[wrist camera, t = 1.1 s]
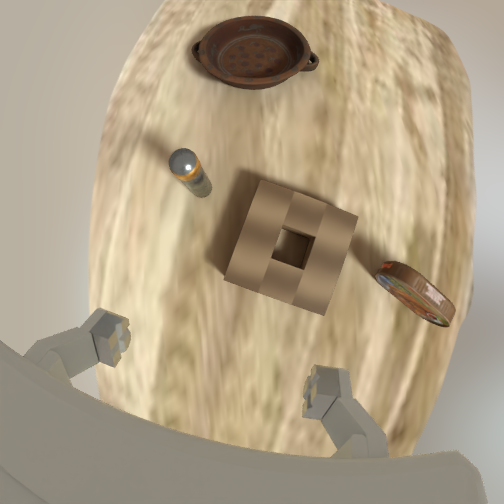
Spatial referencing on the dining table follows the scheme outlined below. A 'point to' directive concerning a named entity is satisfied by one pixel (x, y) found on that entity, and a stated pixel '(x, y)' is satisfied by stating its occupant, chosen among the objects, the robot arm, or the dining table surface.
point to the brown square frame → (316, 257)
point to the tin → (416, 293)
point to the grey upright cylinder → (190, 172)
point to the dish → (254, 52)
